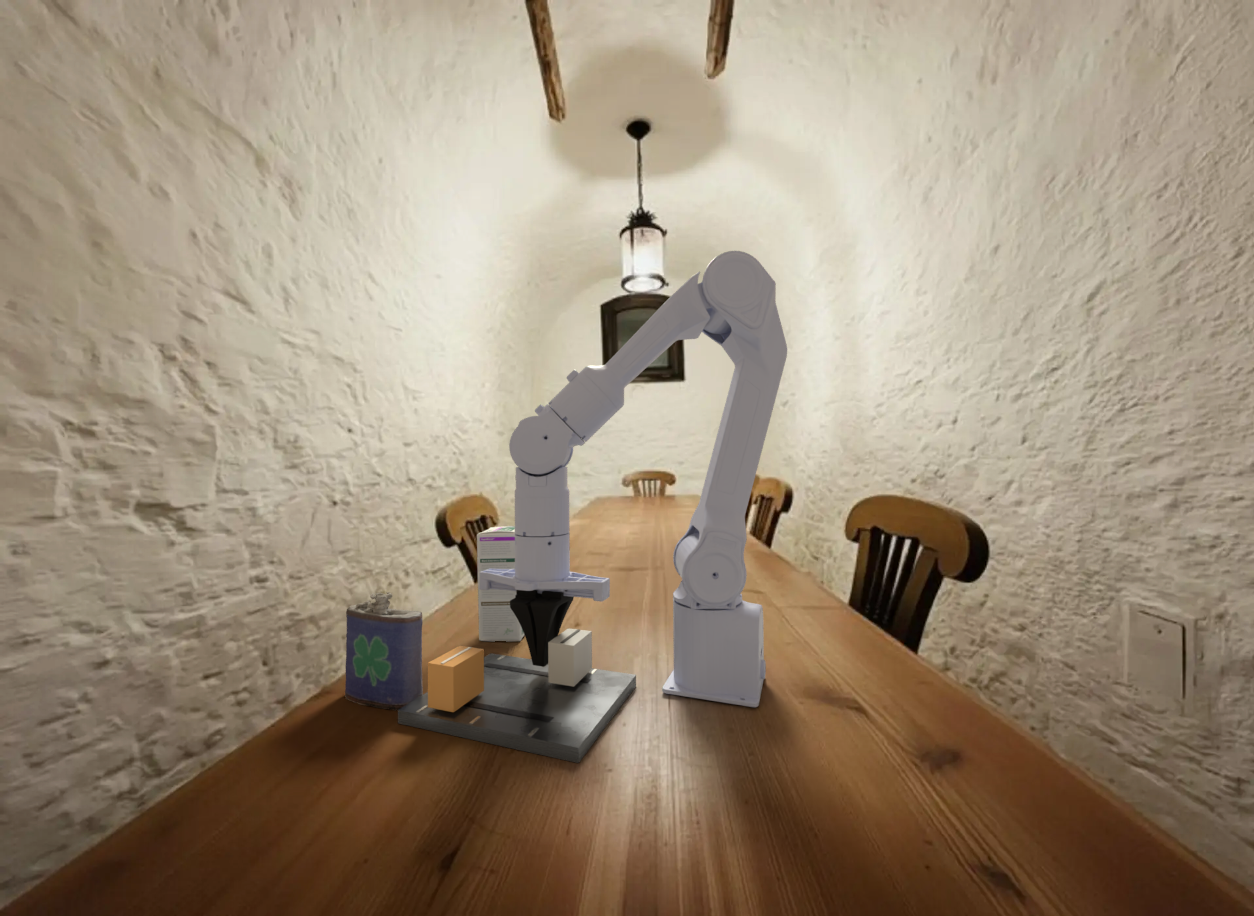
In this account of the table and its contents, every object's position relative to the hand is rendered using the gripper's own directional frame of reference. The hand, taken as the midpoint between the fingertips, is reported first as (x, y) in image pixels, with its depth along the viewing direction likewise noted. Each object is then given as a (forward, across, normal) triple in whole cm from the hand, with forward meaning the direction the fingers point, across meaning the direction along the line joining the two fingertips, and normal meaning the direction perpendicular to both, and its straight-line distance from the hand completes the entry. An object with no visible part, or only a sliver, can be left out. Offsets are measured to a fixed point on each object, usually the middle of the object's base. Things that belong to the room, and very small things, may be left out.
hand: (542, 662), depth 52 cm
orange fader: (+1, -5, -8) cm, 9 cm away
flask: (+3, -14, -8) cm, 16 cm away
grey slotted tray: (+2, 0, -4) cm, 5 cm away
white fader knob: (+1, +3, 0) cm, 3 cm away
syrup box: (+3, -13, +12) cm, 18 cm away
